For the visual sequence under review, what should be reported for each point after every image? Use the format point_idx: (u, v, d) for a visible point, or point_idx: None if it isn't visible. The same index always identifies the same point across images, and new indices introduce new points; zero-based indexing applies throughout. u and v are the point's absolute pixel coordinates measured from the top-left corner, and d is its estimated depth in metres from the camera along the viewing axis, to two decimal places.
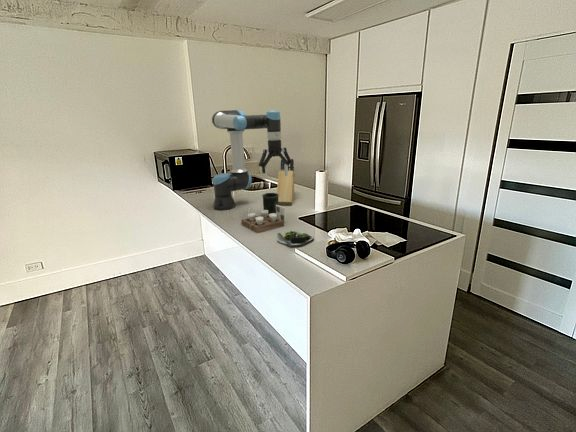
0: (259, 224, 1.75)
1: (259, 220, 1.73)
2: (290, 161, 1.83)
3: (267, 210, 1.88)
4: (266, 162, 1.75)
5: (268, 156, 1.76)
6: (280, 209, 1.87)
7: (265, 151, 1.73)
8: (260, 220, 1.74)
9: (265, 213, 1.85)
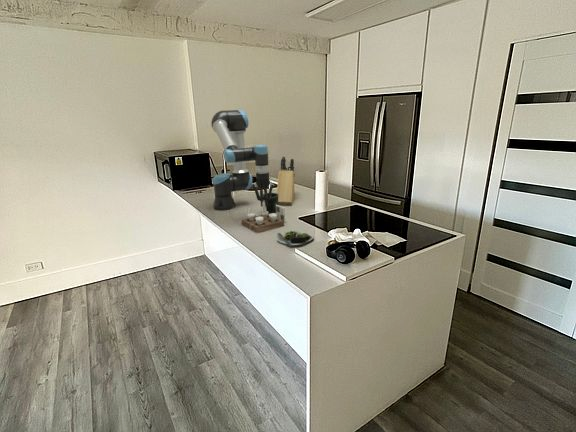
0: (259, 224, 1.75)
1: (259, 220, 1.73)
2: (268, 198, 1.83)
3: (267, 211, 1.88)
4: (260, 196, 1.83)
5: (260, 189, 1.83)
6: (280, 209, 1.87)
7: (253, 186, 1.82)
8: (260, 220, 1.74)
9: (265, 214, 1.86)
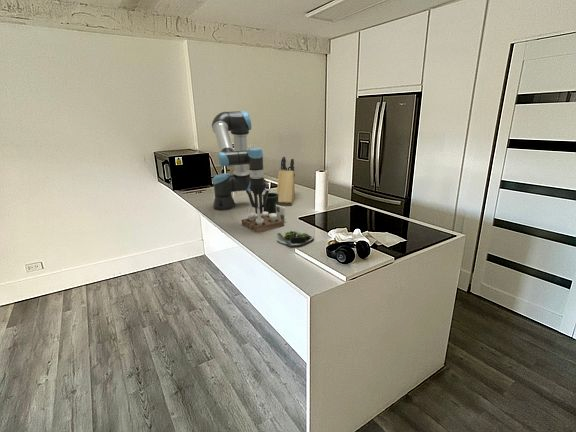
0: None
1: (259, 222, 1.74)
2: (263, 205, 1.71)
3: (267, 212, 1.88)
4: (255, 202, 1.71)
5: None
6: (280, 209, 1.87)
7: (247, 192, 1.70)
8: (260, 222, 1.74)
9: (265, 215, 1.86)
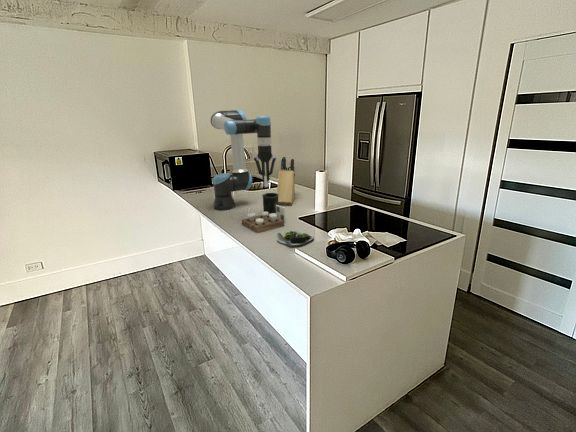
0: None
1: (259, 222, 1.74)
2: (270, 172, 1.77)
3: (267, 212, 1.88)
4: (262, 170, 1.78)
5: (262, 163, 1.78)
6: (280, 209, 1.87)
7: (255, 159, 1.77)
8: (260, 222, 1.74)
9: (265, 215, 1.86)
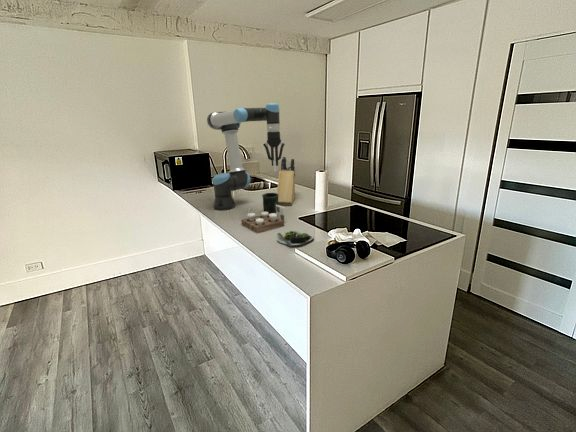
0: None
1: (259, 222, 1.74)
2: (279, 157, 1.87)
3: (267, 212, 1.88)
4: (271, 155, 1.88)
5: (271, 149, 1.88)
6: (280, 209, 1.87)
7: (264, 145, 1.86)
8: (260, 222, 1.74)
9: (265, 215, 1.86)
